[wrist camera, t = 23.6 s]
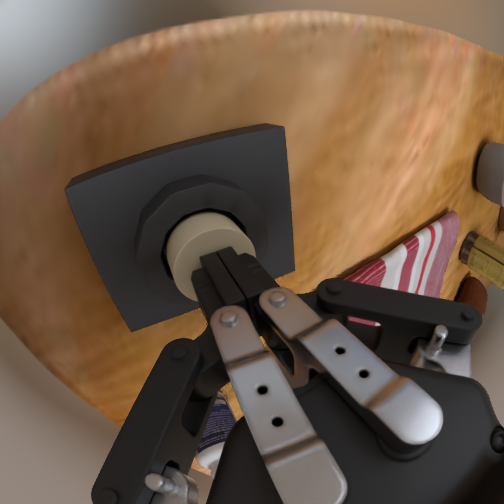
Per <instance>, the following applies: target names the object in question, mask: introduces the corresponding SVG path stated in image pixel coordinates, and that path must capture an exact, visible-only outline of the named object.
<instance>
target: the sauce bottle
mask: <svg viewBox="0 0 504 504" xmlns="http://www.w3.org/2000/svg"><path fill="white" fill-rule="evenodd" d="M460 259H461V262H462V263H464V264H466V265H467V266H468V267H469V268H471V269H472V270H474V271H476V272H477V273H479V274H480V275H482V276H483V277H485V278H486V279H488V280H489V281H491V282H492V283H494V284H495V285H497V286H498V287H499V288H501V289H502V290H504V248H503V247H501V246H500V245H498V244H496V243H495V242H493V241H491V240H489V239H488V238H486V237H484V236H482V235H479V234H477V233H476V232H471V233H469V234H468V236H467V238H466V239H465V241H464V243H463V246H462V249H461V254H460Z"/></svg>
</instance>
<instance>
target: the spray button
mask: <svg viewBox="0 0 504 504" xmlns="http://www.w3.org/2000/svg"><path fill="white" fill-rule="evenodd" d="M229 246H231V247H232V248H233V249H234V250H235V252H236V253H237V254H238V255H239V254H242V253H248V254H250V255H252V256H254V257H255V258H256V254H255V249H254V246H253V244H252V242H251V241H250V239H249V238H248V237H247V236H246V235H245V234H244V233H243V232H242V231H241V230H240V228H239V227H238V226H237V225H236V224H235V223H234V222H233V221H232V220H231V219H230V218H228V217H227V216H225V215H223V214H220V213H216V212H201V213H197V214H194V215H191V216H189V217H188V218H186V219H184V220H183V221H182V222H180V223H179V224H178V225H177V226H176V228H175V229H174V230H173V232H172V233H171V235H170V237H169V239H168V242H167V247H166V255H167V260H168V263H169V266H170V269H171V272H172V275H173V278H174V281H175V284H176V286H177V287H178V289H179V290H180V291H181V293H182V294H184V295H185V296H186V297H188V298H190V299H192V300H194V301H197V302H198V300H197V297H196V294H195V291H194V288H193V285H192V282H191V275H192V271H194V270H197V269H200V268H202V266H201V263H200V258H199V257H200V256H203V255H206V254H209V253H212V252H216V251H218V250H221V249H223V248H226V247H229Z"/></svg>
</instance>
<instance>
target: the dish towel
mask: <svg viewBox="0 0 504 504" xmlns="http://www.w3.org/2000/svg"><path fill="white" fill-rule="evenodd" d="M458 230H459V218H458V215H457V213H456V212H455V211H450V212H448V213H446V214H445V215H444V216H443V217H441V218H440V219H438V220H437V221H435V222H434V223H432V224H430V225H429V226H427V227H425V228H424V229H422V230H421V231H419V232H418V233H416V234H415V235H413V236H412V237H410V238H408V239H407V240H405V241H404V242H402V243H401V244H400V245H398V246H397V247H396V248H395V249H393V250H392V251H391V252H389V253H387V254H386V255H384V256H383V257H381V258H378V259H376V260H375V261H373V262H371V263H369V264H367V265H365V266H364V267H362V268H361V269H359V270H358V271H356V272H355V273H353V274H351V275H349V276H348V277H346V278H344V279H343V280H348V281H353V282H358V283H363V284H368V285H373V286H379V287H384V288H389V289H394V290H399V291H404V292H409V293H414V294H419V295H425V296H430V297H435V298H439V297H440V291H441V287H442V282H443V277H444V274H445V272H446V269H447V265H448V262H449V259H450V256H451V254H452V251H453V249H454V246H455V244H456V242H457V237H458ZM348 320H350V321H355V322H359V323H364V324H368V325H373V326H380V324H379V323H376V322H372V321H367V320H363V319H358V318H354V317H349V319H348Z"/></svg>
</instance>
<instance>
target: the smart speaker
mask: <svg viewBox="0 0 504 504" xmlns="http://www.w3.org/2000/svg"><path fill="white" fill-rule="evenodd" d="M475 181H476V185H477V188H478V190H479V192H480V193H481V194H482V195H483V196H484V197H485V198H487V199H488V200H490V201H492V202H494V203H496V204H498V205H500V206H502V207H504V145H503V144H500V143H488V144H486V145H485V146H484V147H483V148H482V150H481V152H480V154H479V156H478V160H477V164H476V170H475Z"/></svg>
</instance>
